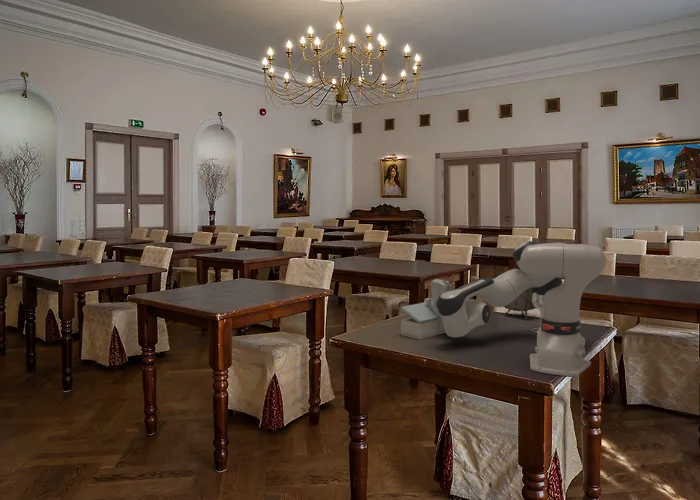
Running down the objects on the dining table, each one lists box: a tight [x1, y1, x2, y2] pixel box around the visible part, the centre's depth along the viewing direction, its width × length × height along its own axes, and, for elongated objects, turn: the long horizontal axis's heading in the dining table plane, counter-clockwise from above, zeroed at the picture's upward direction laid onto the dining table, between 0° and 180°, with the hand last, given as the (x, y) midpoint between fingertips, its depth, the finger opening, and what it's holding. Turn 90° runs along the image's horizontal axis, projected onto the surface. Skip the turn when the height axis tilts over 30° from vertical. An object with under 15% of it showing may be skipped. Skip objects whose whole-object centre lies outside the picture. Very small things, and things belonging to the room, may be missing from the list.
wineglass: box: [531, 293, 544, 334], centre depth 215 cm, size 8×8×20 cm
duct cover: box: [400, 301, 439, 323], centre depth 216 cm, size 11×25×1 cm, turn 133°
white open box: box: [400, 317, 446, 340], centre depth 217 cm, size 10×24×6 cm, turn 131°
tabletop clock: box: [503, 262, 537, 320], centre depth 242 cm, size 14×9×25 cm, turn 36°
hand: (426, 301), depth 218 cm, fingers closed
